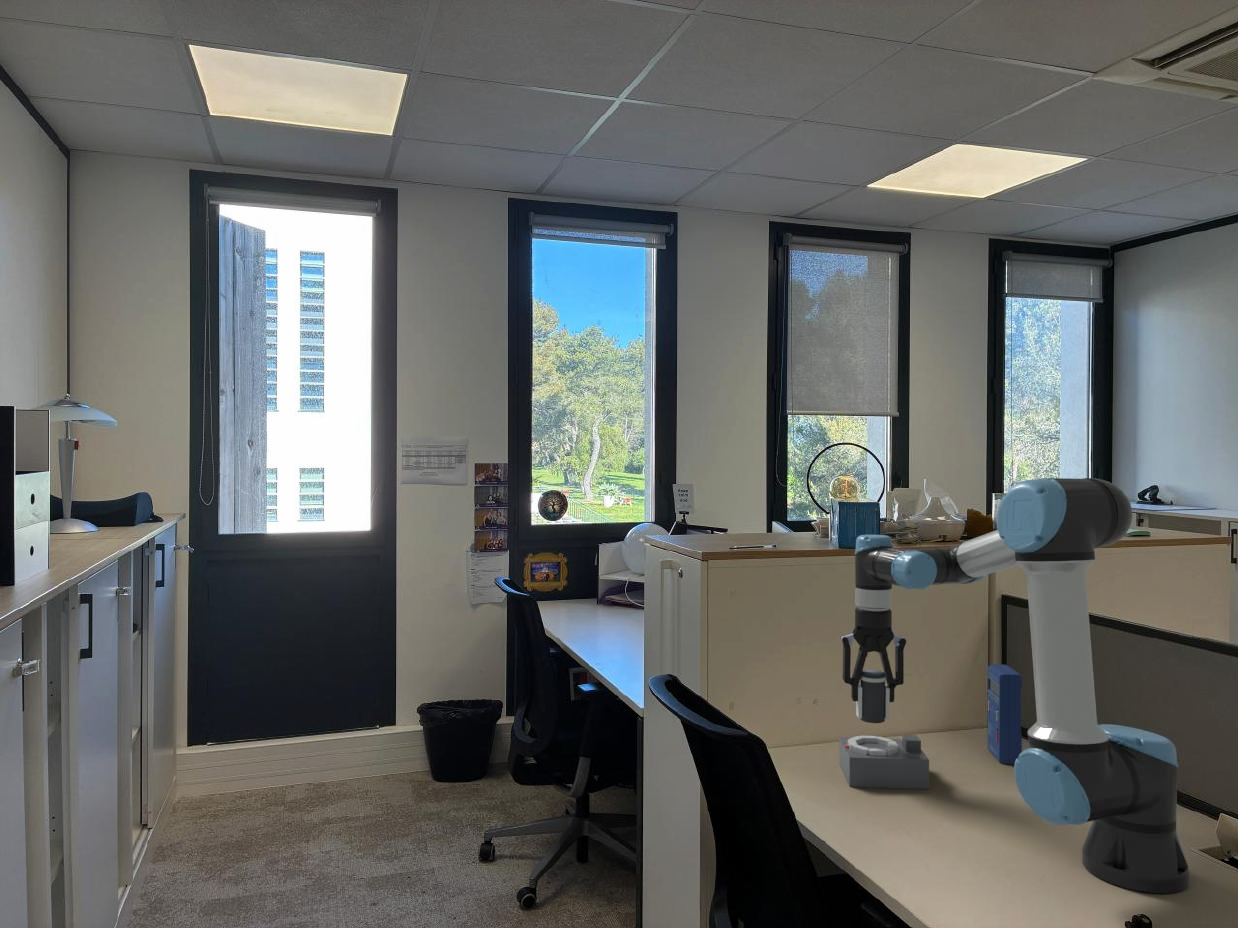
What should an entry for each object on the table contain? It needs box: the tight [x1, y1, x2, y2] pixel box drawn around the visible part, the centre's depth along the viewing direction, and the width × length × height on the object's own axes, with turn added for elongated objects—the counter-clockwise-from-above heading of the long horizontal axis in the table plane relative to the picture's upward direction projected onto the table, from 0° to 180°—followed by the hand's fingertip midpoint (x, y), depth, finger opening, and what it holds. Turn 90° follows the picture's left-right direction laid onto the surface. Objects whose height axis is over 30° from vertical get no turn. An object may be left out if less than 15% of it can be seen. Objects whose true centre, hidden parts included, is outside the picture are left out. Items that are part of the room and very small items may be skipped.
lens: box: [859, 669, 887, 724], centre depth 188 cm, size 5×5×10 cm
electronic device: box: [987, 664, 1023, 765], centre depth 199 cm, size 10×5×20 cm, turn 173°
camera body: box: [838, 734, 930, 790], centre depth 187 cm, size 13×16×8 cm
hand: (872, 716), depth 188 cm, fingers closed on lens, 5 cm apart
